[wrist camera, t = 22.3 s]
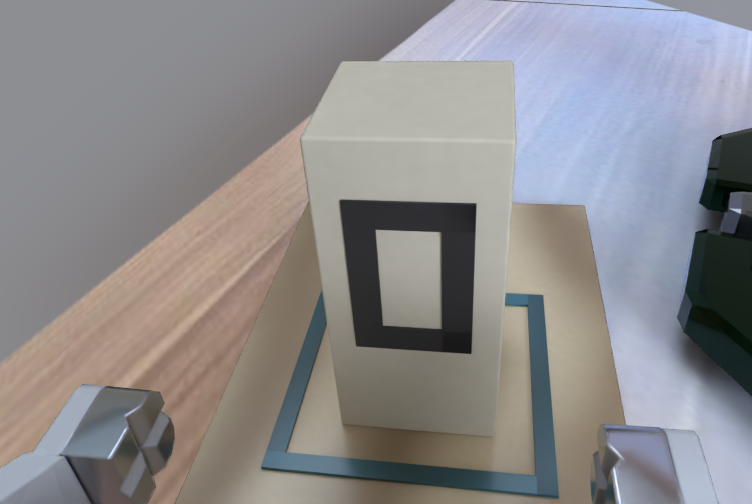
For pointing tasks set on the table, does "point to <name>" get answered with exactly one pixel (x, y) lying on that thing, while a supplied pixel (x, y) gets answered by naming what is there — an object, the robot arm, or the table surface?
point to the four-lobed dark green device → (723, 262)
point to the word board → (410, 447)
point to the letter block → (414, 238)
